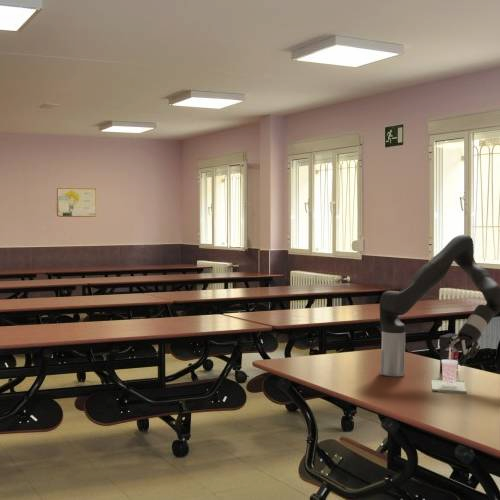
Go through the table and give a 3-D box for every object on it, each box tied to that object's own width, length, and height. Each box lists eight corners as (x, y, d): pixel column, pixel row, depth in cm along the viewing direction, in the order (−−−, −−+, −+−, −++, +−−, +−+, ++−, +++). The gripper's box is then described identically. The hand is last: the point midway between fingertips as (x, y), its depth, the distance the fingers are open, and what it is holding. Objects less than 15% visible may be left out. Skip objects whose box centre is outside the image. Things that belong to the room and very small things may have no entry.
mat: (432, 391, 262) (432, 389, 262) (431, 380, 280) (431, 378, 280) (466, 393, 260) (466, 391, 260) (463, 382, 277) (463, 380, 277)
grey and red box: (448, 374, 291) (449, 337, 290) (438, 373, 294) (439, 336, 293) (458, 370, 300) (459, 334, 299) (448, 368, 303) (449, 333, 302)
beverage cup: (459, 387, 268) (460, 349, 267) (442, 386, 268) (443, 348, 267) (455, 383, 274) (457, 346, 273) (439, 382, 274) (440, 345, 274)
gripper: (492, 338, 271) (470, 372, 266) (463, 333, 283) (441, 365, 278) (483, 325, 268) (460, 359, 263) (453, 320, 280) (431, 352, 275)
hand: (450, 362), depth 270 cm, fingers open, 8 cm apart
